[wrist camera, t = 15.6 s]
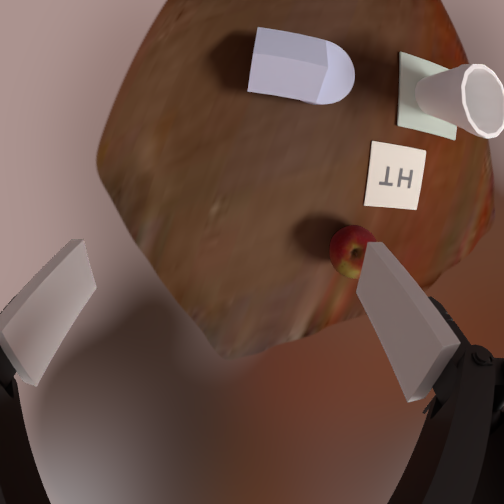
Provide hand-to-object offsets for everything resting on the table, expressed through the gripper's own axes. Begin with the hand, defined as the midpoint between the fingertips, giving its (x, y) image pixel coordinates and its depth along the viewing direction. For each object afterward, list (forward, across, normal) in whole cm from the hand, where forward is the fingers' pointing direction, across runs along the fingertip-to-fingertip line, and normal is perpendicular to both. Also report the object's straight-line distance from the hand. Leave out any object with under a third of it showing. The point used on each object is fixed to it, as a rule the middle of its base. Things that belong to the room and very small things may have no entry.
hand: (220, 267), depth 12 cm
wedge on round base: (+29, +8, +13) cm, 33 cm away
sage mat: (+29, +29, +13) cm, 43 cm away
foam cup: (+28, +29, +13) cm, 43 cm away
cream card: (+29, +24, -1) cm, 37 cm away
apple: (+29, +17, -12) cm, 36 cm away
